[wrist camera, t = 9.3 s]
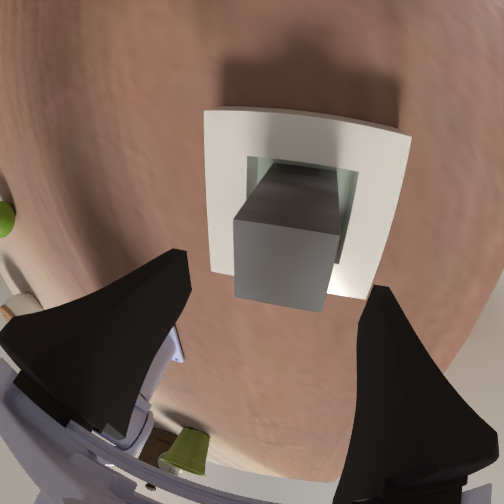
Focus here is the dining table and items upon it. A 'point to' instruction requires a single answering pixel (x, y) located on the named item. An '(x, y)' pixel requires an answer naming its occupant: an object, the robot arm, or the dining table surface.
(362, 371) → the robot arm
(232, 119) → the socket block
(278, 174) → the peg
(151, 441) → the wooden container
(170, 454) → the plant pot
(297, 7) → the dining table surface
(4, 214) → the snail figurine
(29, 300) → the lidded jar
